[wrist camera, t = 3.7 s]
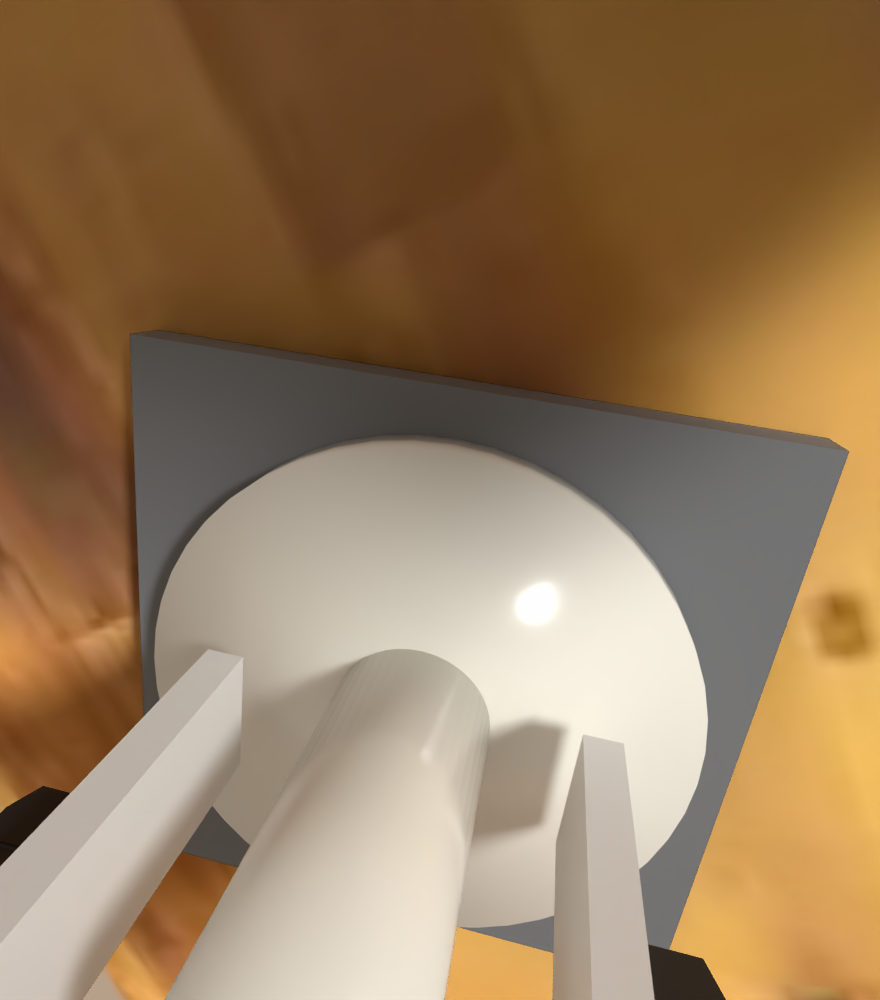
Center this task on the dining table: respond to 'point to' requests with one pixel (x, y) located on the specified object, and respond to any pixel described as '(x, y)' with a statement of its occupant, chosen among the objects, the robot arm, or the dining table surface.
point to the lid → (418, 706)
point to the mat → (537, 438)
